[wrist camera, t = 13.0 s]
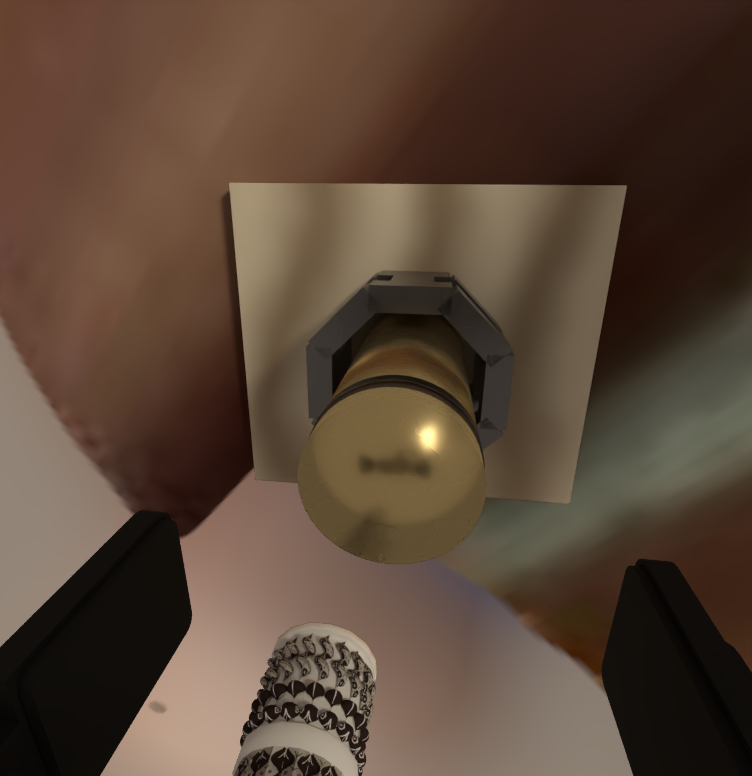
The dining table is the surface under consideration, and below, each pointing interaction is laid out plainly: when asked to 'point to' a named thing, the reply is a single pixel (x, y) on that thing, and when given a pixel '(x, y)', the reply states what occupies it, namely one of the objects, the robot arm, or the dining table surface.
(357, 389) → the gold cylinder
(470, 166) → the dining table surface
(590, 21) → the dining table surface
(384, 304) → the ring
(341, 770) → the decorative candle
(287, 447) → the board
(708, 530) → the dining table surface
